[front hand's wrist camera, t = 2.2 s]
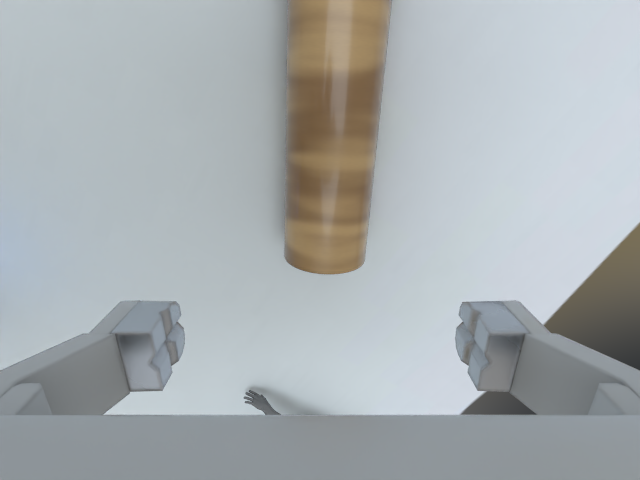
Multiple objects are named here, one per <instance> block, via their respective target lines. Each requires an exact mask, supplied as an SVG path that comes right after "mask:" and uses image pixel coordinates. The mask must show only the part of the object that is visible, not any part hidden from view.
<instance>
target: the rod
mask: <svg viewBox="0 0 640 480" xmlns="http://www.w3.org/2000/svg"><path fill="white" fill-rule="evenodd" d="M391 4H392V0H288V7H287V85H286V164H285V242H284V257H285V259H286V261H287V262H288V263H289V264H290V265H292V266H294V267H295V268H298V269H300V270H303V271H307V272H311V273H318V274H340V273H346V272H350V271H353V270H356V269H358V268H359V267H361V266H362V265H363V263H364V261H365V253H366V244H367V234H368V224H369V215H370V205H371V196H372V186H373V177H374V167H375V157H376V148H377V138H378V129H379V119H380V109H381V100H382V90H383V81H384V71H385V62H386V52H387V42H388V33H389V23H390V14H391Z"/></svg>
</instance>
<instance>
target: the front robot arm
mask: <svg viewBox="0 0 640 480" xmlns="http://www.w3.org/2000/svg"><path fill="white" fill-rule="evenodd" d="M180 316H181V311H180V306H179V304H178V303H177V302H176V301H122V302H120V303H119V304H118V305H117V306H116V307H115V308H114V309H113V310H112V311H111V312H110V313H109V314H108V315H107V316H106V317H105V318H104V319H103V320H102V321H101V322H100V323H99V324H98V325H97V326H96V327H95V328H94V329H93V330H92V331H91V332H90V333H89V334H81V335H79V336H77V337H74V338H72V339H70V340H68V341H65V342H63V343H61V344H59V345H56V346H54V347H52V348H50V349H48V350H45V351H43V352H41V353H39V354H36V355H34V356H32V357H30V358H27V359H25V360H23V361H21V362H18V363H16V364H14V365H12V366H9V367H7V368H5V369H3V370H0V480H640V371H639V370H637V369H635V368H633V367H630V366H628V365H626V364H624V363H621V362H619V361H617V360H615V359H612V358H610V357H608V356H606V355H604V354H601V353H599V352H597V351H595V350H592V349H590V348H588V347H586V346H583V345H581V344H579V343H577V342H575V341H572V340H570V339H568V338H566V337H563V336H561V335H559V334H551V333H550V332H549V331H548V330H547V329H546V328H545V327H544V326H543V325H542V324H541V323H540V322H539V321H538V320H537V319H536V318H535V317H534V316H533V315H532V314H531V313H530V312H529V311H528V310H527V309H526V308H525V307H524V306H523V305H522V304H521V303H520V302H518V301H516V300H514V301H482V302H462V304H461V306H460V311H459V316H460V318H461V319H462V321H463V322H462V323H461V324H460V325H459V326H458V327H457V328H456V336H455V341H456V349H457V352H458V355H459V357H460V359H461V361H462V362H464V363H465V364H467V365H468V366H469V368H468V374H469V376H470V378H471V380H472V381H473V383H474V385H475V387H476V389H477V390H478V391H506V392H510V393H511V394H512V395H513V396H514V397H516V398H517V399H518V400H520V401H521V402H522V403H523V404H525V405H526V406H527V407H528V408H530V409H531V410H532V411H534V412H535V413H536V414H537V415H103V414H104V413H105V412H107V411H108V410H109V409H110V408H112V407H113V406H114V405H116V404H117V403H118V402H119V401H121V400H122V399H123V398H124V397H126V396H127V395H128V394H130V392H134V391H163V389H164V387H165V385H166V383H167V381H168V380H169V378H170V376H171V374H172V368H171V366H172V365H173V364H175V363H176V362H178V361H179V359H180V357H181V355H182V353H183V348H184V344H185V334H184V328H183V327H182V326H181V325H180V324H179V323H178V322H177V321H178V319H179V318H180Z"/></svg>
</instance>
